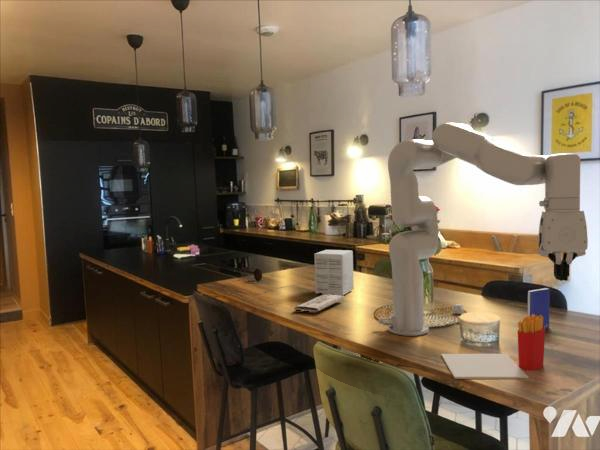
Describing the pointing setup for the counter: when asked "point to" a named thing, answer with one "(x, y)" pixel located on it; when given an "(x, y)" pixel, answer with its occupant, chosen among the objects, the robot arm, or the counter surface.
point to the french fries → (531, 342)
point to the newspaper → (319, 303)
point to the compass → (256, 276)
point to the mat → (483, 366)
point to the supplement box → (334, 272)
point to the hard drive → (539, 304)
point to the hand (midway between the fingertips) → (561, 279)
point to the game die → (457, 309)
